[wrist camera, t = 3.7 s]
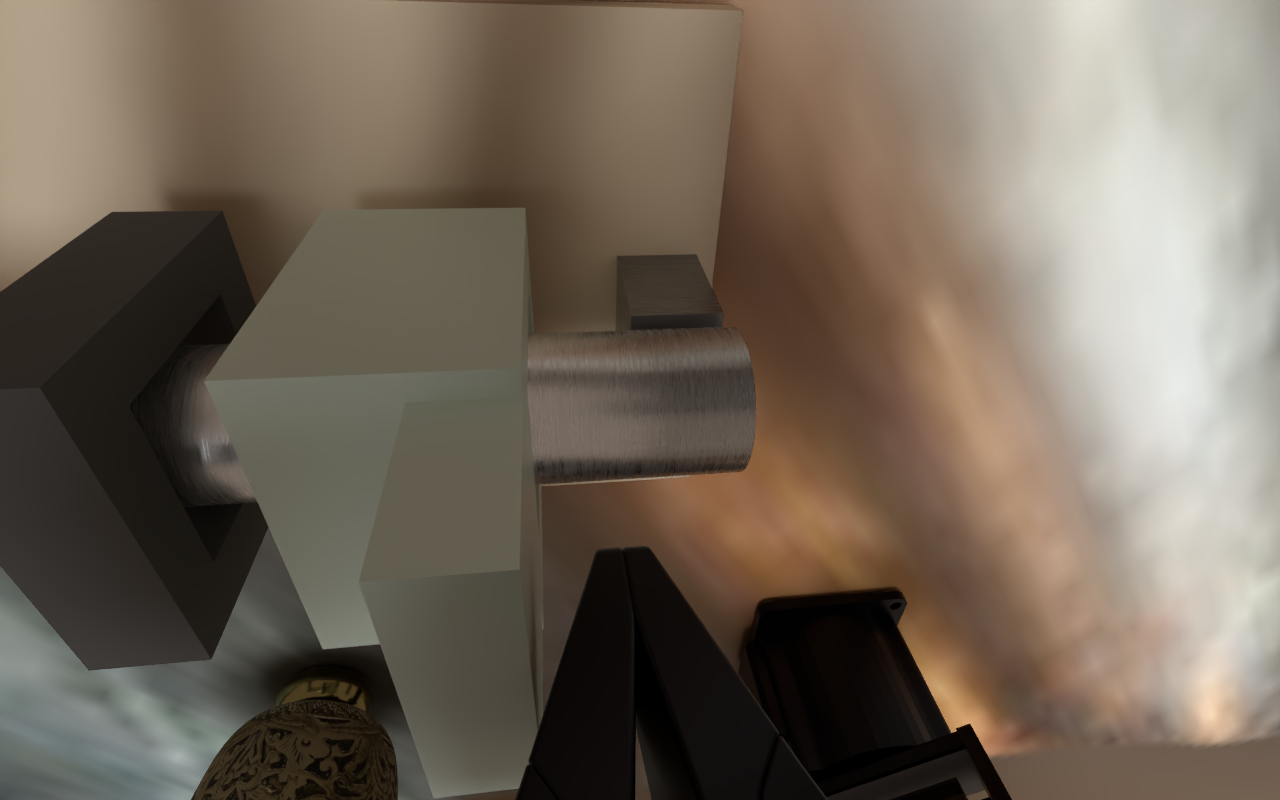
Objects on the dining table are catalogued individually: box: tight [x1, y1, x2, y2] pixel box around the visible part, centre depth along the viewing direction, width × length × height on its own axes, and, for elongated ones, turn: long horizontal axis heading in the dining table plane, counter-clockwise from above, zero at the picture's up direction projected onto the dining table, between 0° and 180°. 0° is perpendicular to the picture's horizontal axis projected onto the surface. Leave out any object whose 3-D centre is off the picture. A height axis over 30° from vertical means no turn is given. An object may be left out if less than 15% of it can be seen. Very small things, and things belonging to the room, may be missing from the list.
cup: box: [191, 667, 398, 800], centre depth 24 cm, size 8×7×8 cm
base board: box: [0, 0, 743, 486], centre depth 16 cm, size 23×13×1 cm, turn 88°
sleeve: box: [204, 208, 543, 798], centre depth 12 cm, size 4×6×9 cm, turn 178°
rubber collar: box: [0, 211, 268, 670], centre depth 12 cm, size 2×6×6 cm, turn 178°
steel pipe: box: [129, 254, 756, 507], centre depth 13 cm, size 22×3×6 cm, turn 88°
